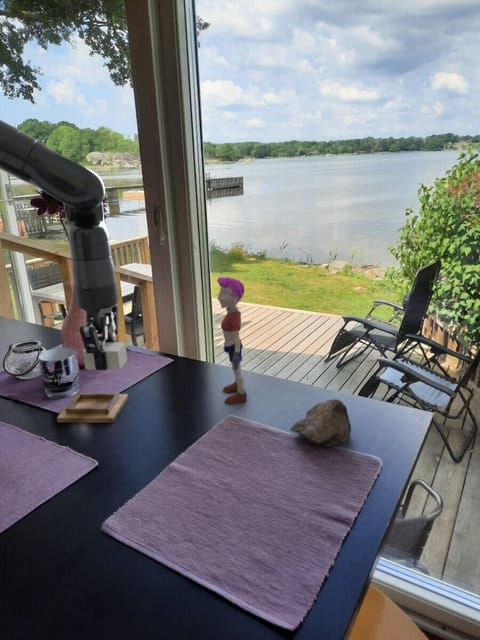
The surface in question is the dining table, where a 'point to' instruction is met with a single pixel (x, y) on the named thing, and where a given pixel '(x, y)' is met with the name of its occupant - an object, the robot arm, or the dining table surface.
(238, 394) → the toy
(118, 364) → the beige rectangular block
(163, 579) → the dining table surface
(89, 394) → the small square wooden tray
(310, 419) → the rock
